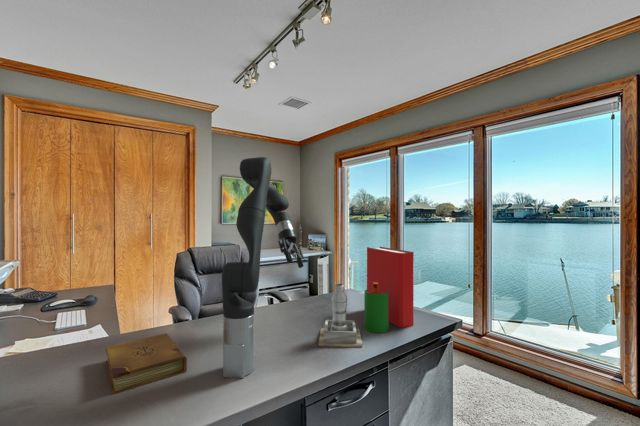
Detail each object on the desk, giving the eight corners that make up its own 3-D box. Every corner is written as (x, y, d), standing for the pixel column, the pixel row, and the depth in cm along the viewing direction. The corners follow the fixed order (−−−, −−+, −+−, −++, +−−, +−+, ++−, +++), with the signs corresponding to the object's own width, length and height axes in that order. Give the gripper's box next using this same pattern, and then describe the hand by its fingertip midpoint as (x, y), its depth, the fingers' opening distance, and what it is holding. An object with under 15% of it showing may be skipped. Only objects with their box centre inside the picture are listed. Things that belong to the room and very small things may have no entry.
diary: (186, 374, 93) (186, 355, 93) (112, 397, 81) (113, 375, 81) (168, 348, 110) (168, 332, 110) (105, 363, 99) (105, 346, 99)
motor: (387, 325, 133) (387, 279, 133) (390, 333, 124) (390, 284, 124) (364, 324, 134) (364, 279, 134) (365, 332, 125) (365, 283, 125)
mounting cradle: (362, 347, 110) (362, 334, 110) (318, 346, 111) (318, 333, 111) (359, 330, 126) (359, 319, 126) (320, 329, 127) (321, 318, 127)
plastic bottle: (334, 340, 115) (334, 287, 115) (329, 333, 121) (329, 283, 121) (350, 338, 116) (350, 286, 117) (344, 331, 123) (344, 282, 123)
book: (366, 309, 155) (366, 247, 156) (379, 307, 158) (380, 246, 159) (400, 327, 130) (400, 253, 130) (415, 325, 133) (415, 252, 134)
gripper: (283, 223, 128) (293, 255, 119) (301, 234, 139) (311, 264, 130) (269, 232, 130) (278, 264, 121) (288, 242, 141) (297, 272, 132)
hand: (296, 264), depth 126 cm, fingers open, 8 cm apart
